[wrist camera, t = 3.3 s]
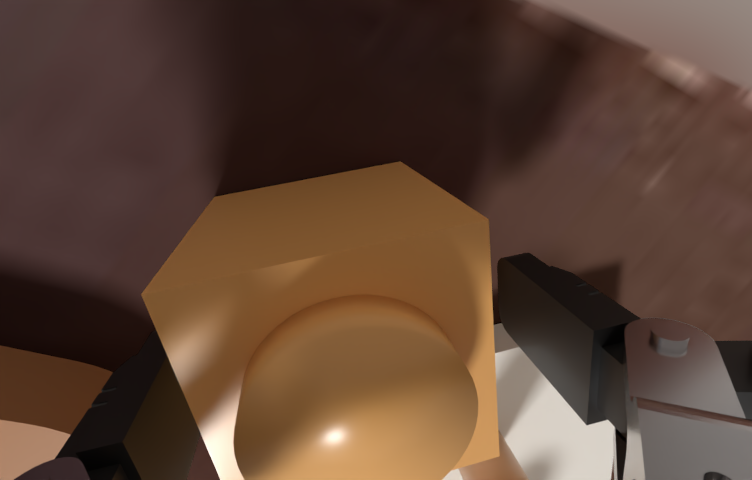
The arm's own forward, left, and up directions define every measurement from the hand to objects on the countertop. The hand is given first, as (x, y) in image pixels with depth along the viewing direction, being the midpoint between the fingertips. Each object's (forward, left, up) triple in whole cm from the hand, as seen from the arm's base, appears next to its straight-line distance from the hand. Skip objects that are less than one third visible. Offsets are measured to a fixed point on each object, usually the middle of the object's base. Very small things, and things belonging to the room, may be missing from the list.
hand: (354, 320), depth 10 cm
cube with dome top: (0, 0, -3) cm, 3 cm away
